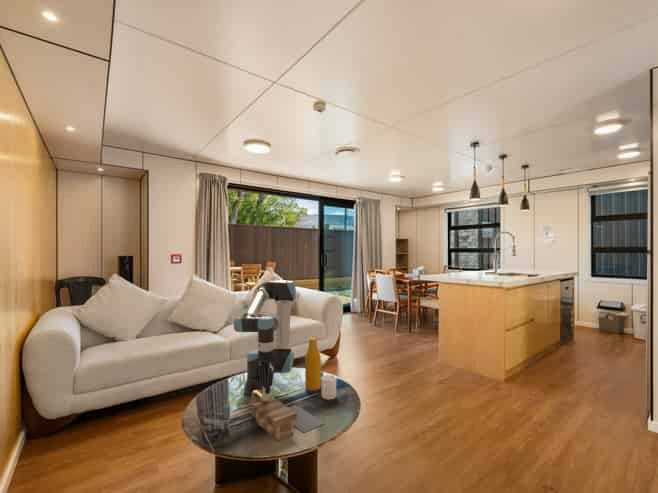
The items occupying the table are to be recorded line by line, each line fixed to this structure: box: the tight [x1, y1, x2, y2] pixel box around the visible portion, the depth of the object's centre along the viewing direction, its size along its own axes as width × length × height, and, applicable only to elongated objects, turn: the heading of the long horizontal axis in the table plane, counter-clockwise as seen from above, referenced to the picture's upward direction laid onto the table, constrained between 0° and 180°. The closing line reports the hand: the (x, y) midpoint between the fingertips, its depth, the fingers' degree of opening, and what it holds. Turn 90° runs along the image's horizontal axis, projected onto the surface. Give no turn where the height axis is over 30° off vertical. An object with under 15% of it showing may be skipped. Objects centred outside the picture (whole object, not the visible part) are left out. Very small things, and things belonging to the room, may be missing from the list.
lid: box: [253, 396, 297, 428], centre depth 145 cm, size 21×11×4 cm, turn 39°
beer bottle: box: [304, 337, 322, 392], centre depth 189 cm, size 9×9×29 cm
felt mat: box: [288, 404, 325, 434], centre depth 154 cm, size 24×12×1 cm, turn 39°
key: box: [253, 390, 263, 401], centre depth 156 cm, size 11×2×3 cm, turn 39°
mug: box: [320, 374, 337, 400], centre depth 176 cm, size 12×8×10 cm
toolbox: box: [251, 390, 294, 442], centre depth 148 cm, size 28×8×11 cm, turn 39°
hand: (266, 399), depth 151 cm, fingers closed
